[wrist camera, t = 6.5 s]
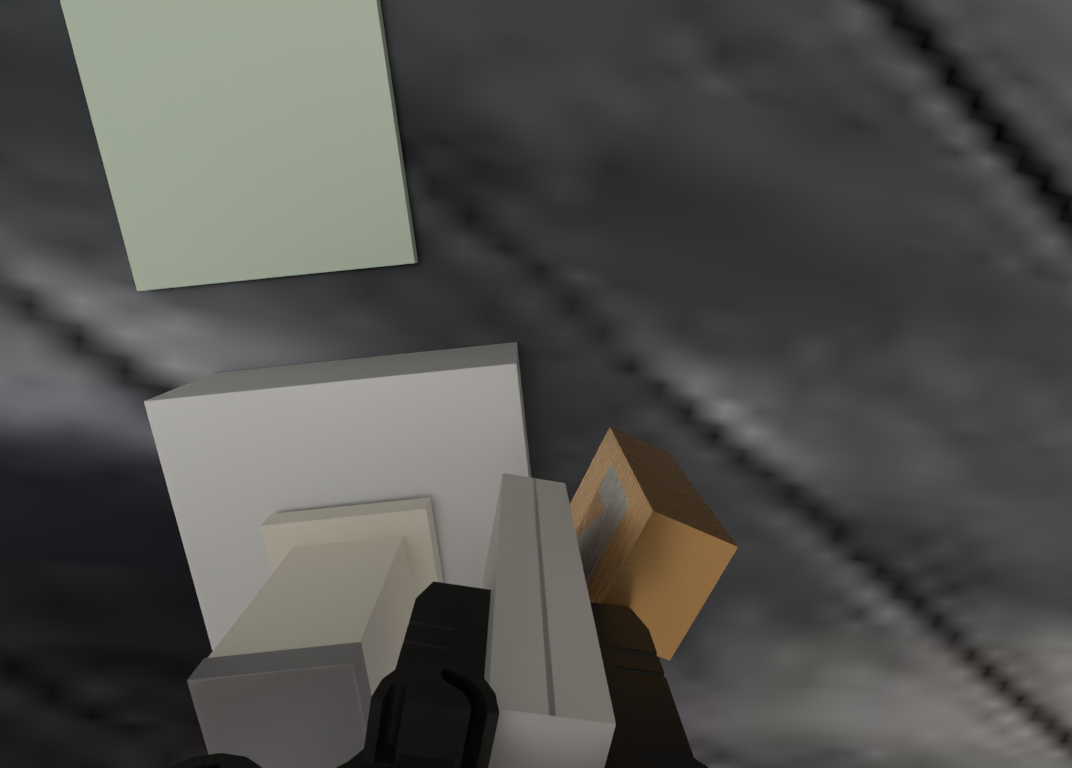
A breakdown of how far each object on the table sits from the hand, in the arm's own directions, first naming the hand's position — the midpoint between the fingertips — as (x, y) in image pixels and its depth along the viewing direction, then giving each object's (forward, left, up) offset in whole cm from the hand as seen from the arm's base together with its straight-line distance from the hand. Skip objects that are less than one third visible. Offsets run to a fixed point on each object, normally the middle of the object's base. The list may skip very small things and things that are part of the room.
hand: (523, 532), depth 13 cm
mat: (-10, +12, -14) cm, 21 cm away
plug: (-7, -6, -14) cm, 17 cm away
